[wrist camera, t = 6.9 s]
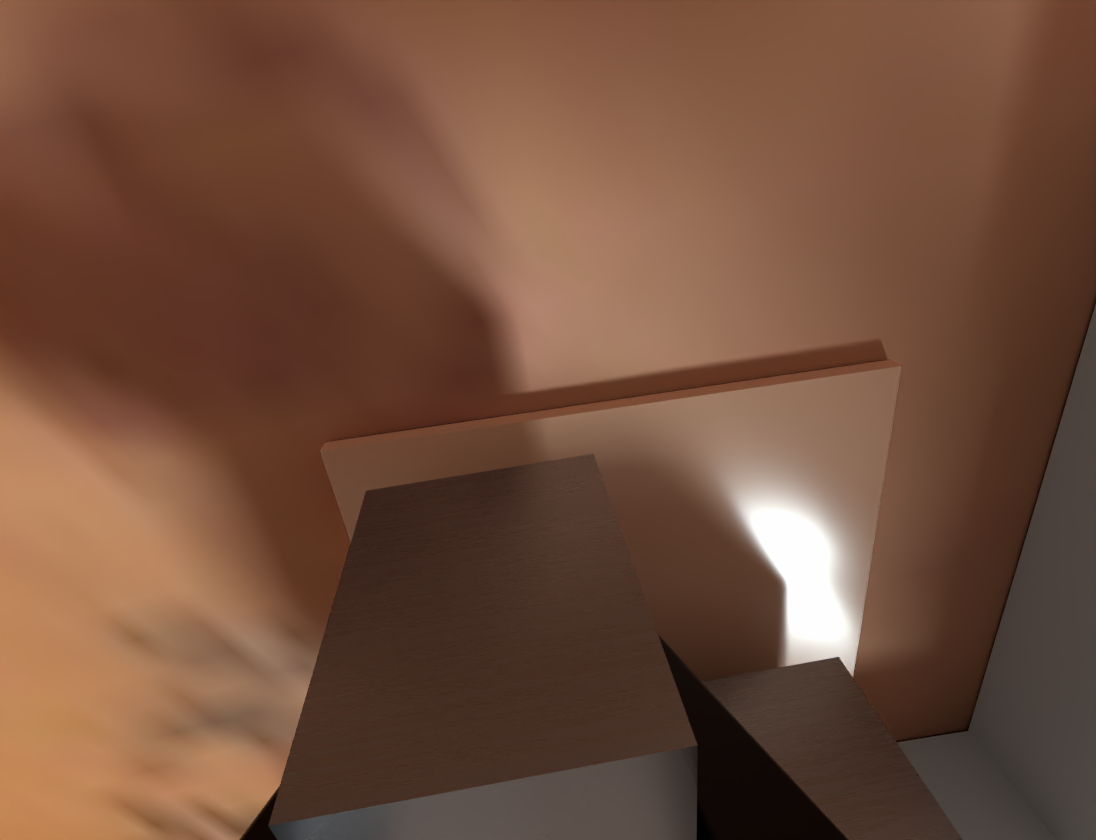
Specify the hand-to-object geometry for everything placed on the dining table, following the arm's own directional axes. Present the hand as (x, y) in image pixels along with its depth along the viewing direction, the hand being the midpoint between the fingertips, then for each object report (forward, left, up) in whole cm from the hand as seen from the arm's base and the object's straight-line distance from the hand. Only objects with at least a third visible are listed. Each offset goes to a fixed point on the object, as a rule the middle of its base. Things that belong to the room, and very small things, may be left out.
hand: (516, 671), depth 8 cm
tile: (-2, +1, -3) cm, 4 cm away
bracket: (-2, +1, -1) cm, 3 cm away
